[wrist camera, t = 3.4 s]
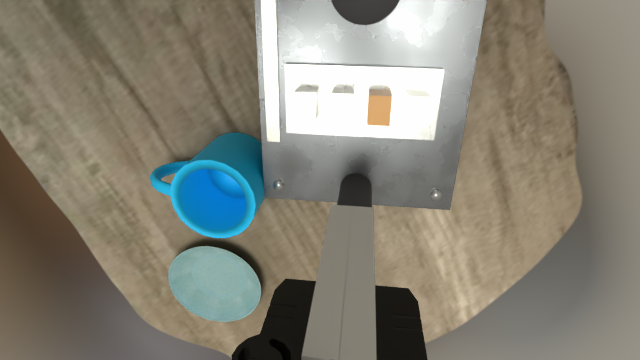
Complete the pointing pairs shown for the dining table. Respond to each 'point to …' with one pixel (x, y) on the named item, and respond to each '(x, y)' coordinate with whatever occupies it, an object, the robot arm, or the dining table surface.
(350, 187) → the dark grey upright post
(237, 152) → the mug
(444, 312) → the dining table surface
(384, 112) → the orange cube
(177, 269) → the saucer
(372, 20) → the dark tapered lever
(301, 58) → the breaker panel
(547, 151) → the dining table surface
